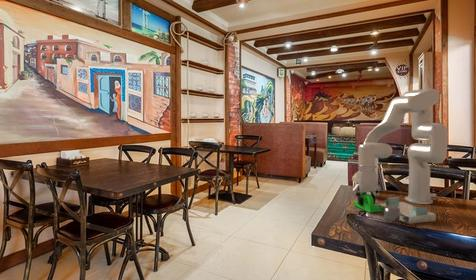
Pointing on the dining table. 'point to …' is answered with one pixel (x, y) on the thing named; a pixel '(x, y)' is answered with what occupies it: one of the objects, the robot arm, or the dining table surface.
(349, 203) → the dining table surface
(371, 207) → the mechanical part
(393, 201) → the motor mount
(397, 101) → the robot arm
